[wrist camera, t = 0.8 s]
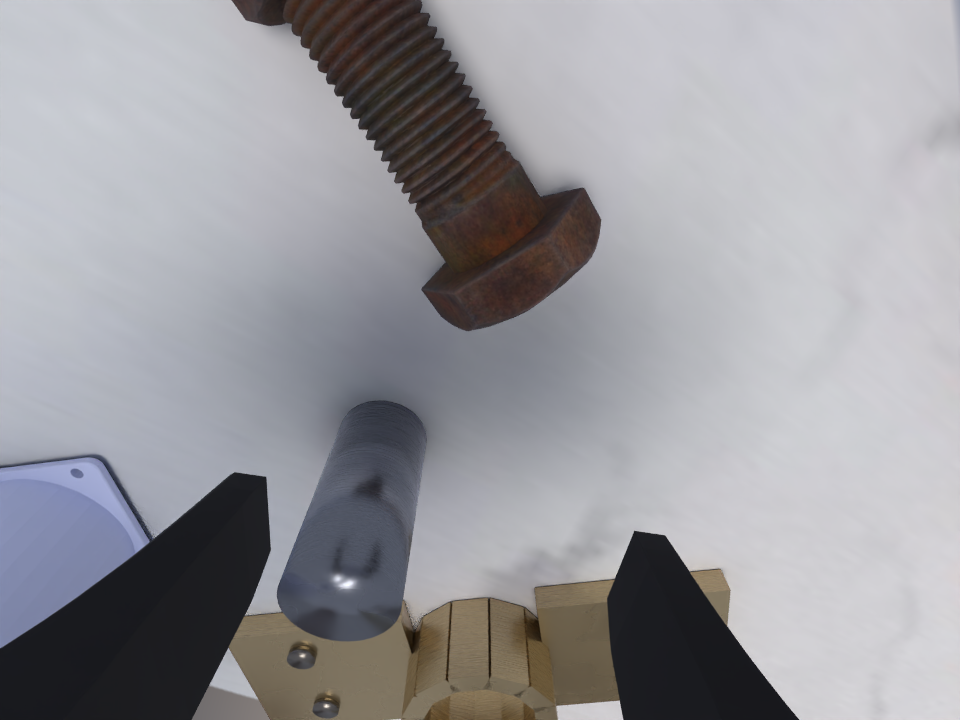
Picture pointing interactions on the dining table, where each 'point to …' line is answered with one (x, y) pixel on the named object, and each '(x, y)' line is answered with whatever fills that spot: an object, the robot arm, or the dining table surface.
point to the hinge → (447, 660)
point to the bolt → (443, 157)
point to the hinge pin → (358, 528)
